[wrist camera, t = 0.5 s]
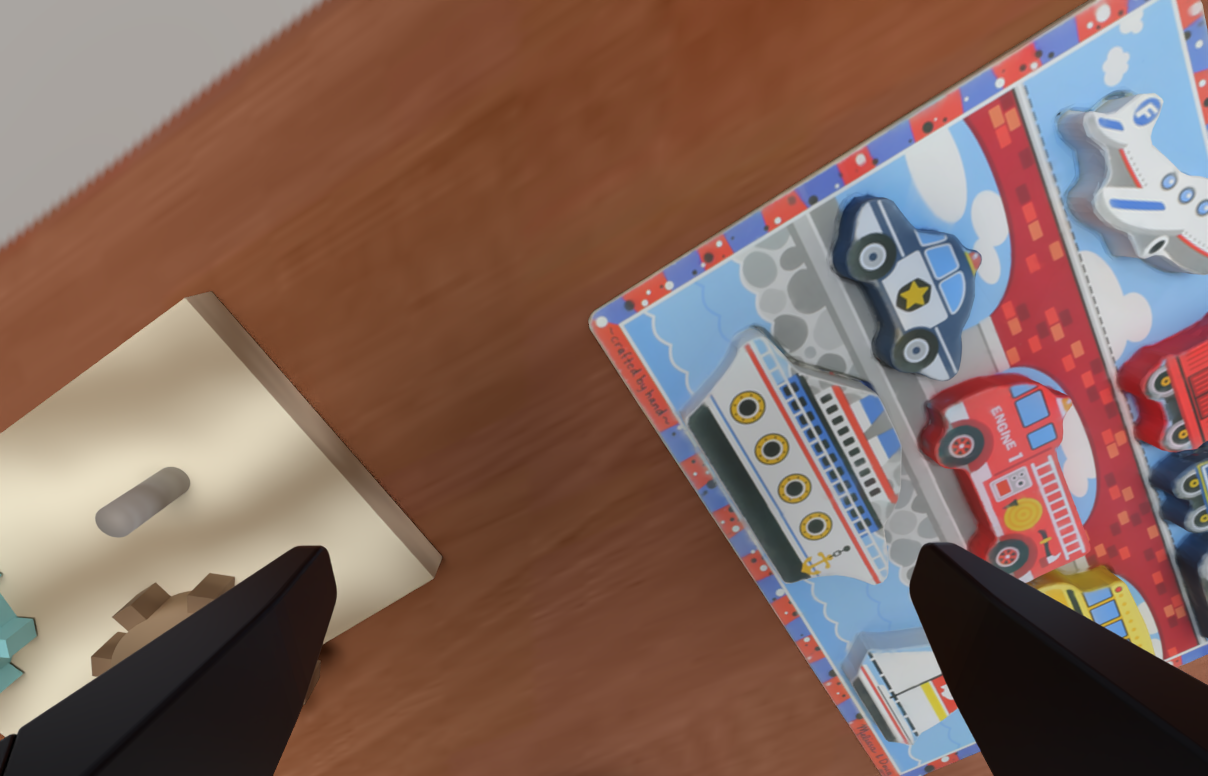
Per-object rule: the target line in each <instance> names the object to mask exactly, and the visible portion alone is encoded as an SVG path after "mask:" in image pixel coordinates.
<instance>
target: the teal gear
mask: <svg viewBox="0 0 1208 776" xmlns="http://www.w3.org/2000/svg"><path fill="white" fill-rule="evenodd" d="M0 576H1V574H0ZM36 636H37V635H36V631H35V626H34V621H33V619H30V618H18V617H17V615H16V614H15V613H14V611H13V610H12V609H11V607H10V606H9V604H8V603H7V602H6V600H5V599H4V597H3V596H2V595H1V593H0V693H1V692H2V691H3V690H5V689H6V688H7V687H8V686H9V685H10V684H12V683H13V682H14V681H15V680H16V679H18V678H19V677H20V676H21V675H22V674H23V673H22V672H21V671H19V670H18V669H16V668H15V667H14V666H12V665H11V664H10V662H11V659H12V656H13V655H14V654H15V653H17V652H18V651H19V650H20V649H21V648H23V647H24V646H25V645H26V644H28V643H29V642H30V641H31V640H33V639H34V638H35V637H36Z"/></svg>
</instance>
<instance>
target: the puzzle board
mask: <svg viewBox="0 0 1208 776" xmlns="http://www.w3.org/2000/svg"><path fill="white" fill-rule="evenodd" d="M588 322H589V328H590V330H591V331H592V333H593V335H594V336H595V338H596V339H597V341H598V342H599V344H600V345H601V347H602V349H603V350H604V352H605V353H606V355H607V356H608V358H609V359H610V361H611V363H612V364H613V366H614V367H615V369H616V370H617V372H618V373H619V375H620V377H621V378H622V380H623V381H624V383H625V384H626V386H627V387H628V389H629V391H630V392H631V394H632V395H633V397H634V398H635V400H636V401H637V403H638V404H639V406H640V408H641V409H642V411H643V412H644V414H645V415H646V417H647V418H648V420H649V421H650V423H651V424H652V426H653V427H654V429H655V430H656V432H657V433H658V435H659V436H660V438H661V439H662V441H663V443H664V444H665V446H666V447H667V449H668V450H669V452H670V453H671V455H672V456H673V458H674V459H675V461H676V462H677V464H678V465H679V467H680V468H681V470H682V472H683V473H684V475H685V476H686V478H687V479H688V481H689V482H690V484H691V485H692V487H693V488H694V490H695V491H696V493H697V494H698V496H699V497H700V499H701V500H702V502H703V503H704V505H705V506H706V508H707V510H708V511H709V513H710V514H711V516H712V517H713V519H714V520H715V522H716V523H717V525H718V526H719V528H720V529H721V531H722V532H723V534H724V535H725V537H726V539H727V540H728V542H729V543H730V545H731V546H732V548H733V549H734V551H735V552H736V554H737V555H738V557H739V558H740V560H741V561H742V563H743V564H744V566H745V567H746V569H747V570H748V572H749V574H750V575H751V577H752V578H753V580H754V581H755V583H756V584H757V586H758V587H759V589H760V590H761V592H762V593H763V595H764V596H765V598H766V599H767V601H768V603H769V604H770V606H771V607H772V609H773V610H774V612H775V613H776V615H777V616H778V618H779V619H780V621H781V623H782V624H783V626H784V627H785V629H786V630H787V632H788V633H789V635H790V636H791V638H792V639H793V641H794V642H795V644H796V645H797V647H798V648H799V650H800V651H801V653H802V654H803V656H804V658H805V659H806V661H807V662H808V664H809V665H810V667H811V668H812V670H813V671H814V673H815V674H816V676H817V677H818V679H819V680H820V682H821V683H822V685H823V686H824V688H825V690H826V691H827V693H828V694H829V696H830V697H831V699H832V700H833V702H834V703H835V705H836V706H837V708H838V709H839V711H840V712H841V714H842V715H843V717H844V718H845V720H846V722H847V723H848V725H849V726H850V728H851V729H852V731H853V732H854V734H855V735H856V737H857V738H858V740H859V741H860V743H861V744H862V746H863V748H864V749H865V751H866V752H867V754H868V755H869V757H870V758H871V760H872V761H873V763H874V764H875V766H876V767H877V769H878V770H879V772H880V774H881V775H882V776H923V775H925V774H927V773H930V772H932V771H934V770H936V769H939V768H942V767H944V766H947V765H949V764H952V763H954V762H956V761H958V760H961V759H963V758H965V757H968V756H970V755H973V754H975V753H978V752H980V749H979V747H978V745H977V743H976V742H975V740H974V738H973V736H972V734H971V732H970V730H969V728H968V726H967V725H966V723H965V721H964V719H963V717H962V715H961V713H960V711H959V709H958V707H957V705H956V703H955V701H954V699H953V697H952V695H951V693H950V691H949V689H948V687H947V684H946V682H945V680H944V678H943V675H942V673H941V670H940V668H939V665H938V663H937V661H936V658H935V656H934V653H933V651H932V649H931V646H930V644H929V641H928V639H927V637H926V634H925V632H924V629H923V627H922V625H921V622H920V620H919V617H918V615H917V612H916V610H915V608H914V605H913V603H912V600H911V597H910V592H909V584H910V579H911V576H912V573H913V570H914V567H915V564H916V561H917V557H918V554H919V551H920V549H921V547H922V546H923V545H924V544H926V543H929V542H950V543H954V544H957V545H958V546H960V547H962V548H964V549H966V550H967V551H969V552H971V553H973V554H975V555H976V556H978V557H980V558H982V559H983V560H985V561H987V562H989V563H991V564H992V565H994V566H996V567H998V568H999V569H1001V570H1003V571H1005V572H1007V573H1008V574H1010V575H1012V576H1014V577H1016V578H1017V579H1019V580H1021V581H1023V582H1024V583H1026V584H1028V585H1030V586H1032V587H1033V588H1035V589H1037V590H1039V591H1041V592H1042V593H1044V594H1046V595H1048V596H1049V597H1051V598H1053V599H1055V600H1057V601H1058V602H1060V603H1062V604H1064V605H1066V606H1067V607H1069V608H1071V609H1073V610H1074V611H1076V612H1078V613H1080V614H1082V615H1083V616H1085V617H1087V618H1089V619H1091V620H1092V621H1094V622H1096V623H1098V624H1099V625H1101V626H1103V627H1105V628H1107V629H1108V630H1110V631H1112V632H1114V633H1116V634H1117V635H1119V636H1121V637H1123V638H1124V639H1126V640H1128V641H1130V642H1132V643H1133V644H1135V645H1137V646H1139V647H1141V648H1142V649H1144V650H1146V651H1148V652H1149V653H1151V654H1153V655H1155V656H1157V657H1158V658H1160V659H1162V660H1164V661H1166V662H1167V663H1169V664H1171V665H1173V666H1175V667H1179V666H1181V665H1184V664H1187V663H1189V662H1191V661H1193V660H1195V659H1197V658H1200V657H1202V656H1204V655H1207V654H1208V31H1207V26H1206V20H1205V15H1204V10H1203V4H1202V3H1201V1H1200V0H1088V1H1087V2H1085V3H1083V4H1082V5H1080V6H1078V7H1077V8H1075V9H1074V10H1072V11H1070V12H1069V13H1067V14H1066V15H1064V16H1062V17H1061V18H1059V19H1058V20H1056V21H1054V22H1053V23H1051V24H1050V25H1048V26H1046V27H1045V28H1043V29H1042V30H1040V31H1038V32H1037V33H1035V34H1034V35H1032V36H1030V37H1029V38H1027V39H1026V40H1024V41H1022V42H1021V43H1019V44H1018V45H1016V46H1014V47H1013V48H1011V49H1010V50H1008V51H1006V52H1005V53H1003V54H1001V55H1000V56H998V57H997V58H995V59H993V60H992V61H990V62H989V63H987V64H985V65H984V66H982V67H981V68H979V69H977V70H976V71H974V72H973V73H971V74H969V75H968V76H966V77H965V78H963V79H961V80H960V81H958V82H957V83H955V84H953V85H952V86H950V87H949V88H947V89H945V90H944V91H942V92H941V93H939V94H937V95H936V96H934V97H933V98H931V99H930V100H928V101H926V102H925V103H923V104H922V105H920V106H918V107H917V108H915V109H914V110H912V111H910V112H909V113H907V114H905V115H904V116H902V117H901V118H899V119H898V120H896V121H894V122H893V123H891V124H890V125H888V126H886V127H885V128H883V129H882V130H880V131H878V132H877V133H875V134H874V135H872V136H870V137H869V138H867V139H866V140H864V141H863V142H861V143H859V144H858V145H856V146H855V147H853V148H851V149H850V150H848V151H847V152H845V153H843V154H842V155H840V156H839V157H837V158H835V159H834V160H832V161H831V162H829V163H827V164H826V165H824V166H823V167H821V168H819V169H818V170H816V171H815V172H813V173H811V174H810V175H808V176H807V177H805V178H804V179H802V180H800V181H799V182H797V183H796V184H794V185H792V186H791V187H789V188H788V189H786V190H784V191H783V192H781V193H780V194H778V195H777V196H775V197H773V198H772V199H770V200H769V201H767V202H765V203H764V204H762V205H761V206H759V207H757V208H756V209H754V210H753V211H751V212H749V213H748V214H746V215H745V216H743V217H742V218H740V219H738V220H737V221H735V222H734V223H732V224H730V225H729V226H727V227H726V228H724V229H722V230H721V231H719V232H718V233H716V234H715V235H713V236H711V237H710V238H708V239H707V240H705V241H703V242H702V243H700V244H699V245H697V246H695V247H694V248H692V249H691V250H689V251H688V252H686V253H684V254H683V255H681V256H680V257H678V258H676V259H675V260H673V261H672V262H670V263H669V264H667V265H665V266H664V267H662V268H661V269H659V270H657V271H656V272H654V273H653V274H651V275H649V276H648V277H646V278H645V279H643V280H642V281H640V282H638V283H637V284H635V285H634V286H632V287H630V288H629V289H627V290H626V291H624V292H623V293H621V294H619V295H618V296H616V297H615V298H613V299H611V300H610V301H608V302H607V303H605V304H604V305H602V306H600V307H599V308H597V309H595V310H594V311H593V312H592V313H591V315H590V317H589V319H588Z"/></svg>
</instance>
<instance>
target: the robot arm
mask: <svg viewBox="0 0 1208 776" xmlns="http://www.w3.org/2000/svg"><path fill="white" fill-rule="evenodd" d="M909 592H910V597H911V600H912V603H913V605H914V608H915V610H916V612H917V615H918V617H919V620H920V622H921V625H922V627H923V629H924V632H925V634H926V637H927V639H928V641H929V644H930V646H931V649H932V651H933V653H934V656H935V658H936V661H937V663H938V665H939V668H940V670H941V673H942V675H943V678H944V680H945V682H946V684H947V687H948V689H949V691H950V693H951V695H952V697H953V699H954V701H955V703H956V705H957V707H958V709H959V711H960V713H961V715H962V717H963V719H964V721H965V723H966V725H967V726H968V728H969V730H970V732H971V734H972V736H973V738H974V740H975V742H976V743H977V745H978V747H979V749H980V751H981V753H982V755H983V757H984V758H985V760H986V762H987V764H988V766H989V768H990V770H991V772H992V773H993V775H994V776H1208V685H1207V684H1205V683H1203V682H1201V681H1200V680H1198V679H1196V678H1194V677H1192V676H1191V675H1189V674H1187V673H1185V672H1183V671H1182V670H1180V669H1178V668H1176V667H1175V666H1173V665H1171V664H1169V663H1167V662H1166V661H1164V660H1162V659H1160V658H1158V657H1157V656H1155V655H1153V654H1151V653H1149V652H1148V651H1146V650H1144V649H1142V648H1141V647H1139V646H1137V645H1135V644H1133V643H1132V642H1130V641H1128V640H1126V639H1124V638H1123V637H1121V636H1119V635H1117V634H1116V633H1114V632H1112V631H1110V630H1108V629H1107V628H1105V627H1103V626H1101V625H1099V624H1098V623H1096V622H1094V621H1092V620H1091V619H1089V618H1087V617H1085V616H1083V615H1082V614H1080V613H1078V612H1076V611H1074V610H1073V609H1071V608H1069V607H1067V606H1066V605H1064V604H1062V603H1060V602H1058V601H1057V600H1055V599H1053V598H1051V597H1049V596H1048V595H1046V594H1044V593H1042V592H1041V591H1039V590H1037V589H1035V588H1033V587H1032V586H1030V585H1028V584H1026V583H1024V582H1023V581H1021V580H1019V579H1017V578H1016V577H1014V576H1012V575H1010V574H1008V573H1007V572H1005V571H1003V570H1001V569H999V568H998V567H996V566H994V565H992V564H991V563H989V562H987V561H985V560H983V559H982V558H980V557H978V556H976V555H975V554H973V553H971V552H969V551H967V550H966V549H964V548H962V547H960V546H958V545H957V544H954V543H950V542H929V543H926V544H924V545H923V546H922V547H921V549H920V551H919V554H918V557H917V561H916V564H915V567H914V570H913V573H912V576H911V579H910V584H909ZM336 599H337V586H336V581H335V577H334V573H333V568H332V564H331V560H330V555H329V552H328V550H327V549H326V548H325V547H324V546H321V545H301V546H296V547H293V548H292V549H290V550H288V551H287V552H285V553H284V554H282V555H281V556H279V557H278V558H276V559H275V560H273V561H272V562H270V563H269V564H267V565H266V566H264V567H263V568H261V569H260V570H258V571H257V572H255V573H254V574H252V575H251V576H249V577H248V578H246V579H245V580H243V581H242V582H240V583H239V584H237V585H236V586H234V587H233V588H231V589H229V590H228V591H226V592H225V593H223V594H222V595H220V596H219V597H217V598H216V599H214V600H213V601H211V602H210V603H208V604H207V605H205V606H204V607H202V608H201V609H199V610H198V611H196V612H195V613H193V614H192V615H190V616H189V617H187V618H186V619H184V620H183V621H181V622H180V623H178V624H177V625H175V626H174V627H172V628H171V629H169V630H168V631H166V632H164V633H163V634H161V635H160V636H158V637H157V638H155V639H154V640H152V641H151V642H149V643H148V644H146V645H145V646H143V647H142V648H140V649H139V650H137V651H136V652H134V653H133V654H131V655H130V656H128V657H127V658H125V659H124V660H122V661H121V662H119V663H118V664H116V665H115V666H113V667H112V668H110V669H109V670H107V671H105V672H104V673H102V674H101V675H99V676H98V677H96V678H95V679H93V680H92V681H90V682H89V683H87V684H86V685H84V686H83V687H81V688H80V689H78V690H77V691H75V692H74V693H72V694H71V695H69V696H68V697H66V698H65V699H63V700H62V701H60V702H59V703H57V704H56V705H54V706H52V707H51V708H49V709H48V710H46V711H45V712H43V713H42V714H40V715H39V716H37V717H36V718H34V719H33V720H31V721H30V722H28V723H27V724H25V725H24V726H22V727H21V728H20V729H19V730H18V733H17V734H10V735H8V736H7V737H5V738H4V739H2V740H1V741H0V776H273V774H274V772H275V770H276V767H277V765H278V763H279V760H280V758H281V756H282V753H283V751H284V749H285V747H286V744H287V742H288V740H289V737H290V735H291V733H292V731H293V728H294V726H295V724H296V721H297V719H298V716H299V714H300V711H301V709H302V706H303V704H304V701H305V698H306V695H307V692H308V689H309V686H310V683H311V680H312V677H313V674H314V670H315V667H316V664H317V661H318V658H319V655H320V652H321V648H322V645H323V642H324V639H325V636H326V633H327V629H328V626H329V623H330V620H331V617H332V614H333V611H334V607H335V604H336Z"/></svg>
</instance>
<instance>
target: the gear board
mask: <svg viewBox="0 0 1208 776" xmlns="http://www.w3.org/2000/svg"><path fill="white" fill-rule="evenodd" d="M301 545H321V546H324V547H325V548H326V549H327V550H328V552H329V555H330V560H331V564H332V568H333V573H334V577H335V581H336V586H337V599H336V604H335V607H334V611H333V614H332V617H331V620H330V623H329V626H328V629H327V633H326V636H325V639H324V642H323V644H324V643H326V642H328V641H329V640H331V639H333V638H334V637H336V636H338V635H339V634H341V633H343V632H344V631H346V630H348V629H349V628H351V627H353V626H355V625H356V624H358V623H360V622H361V621H363V620H365V619H366V618H368V617H370V616H371V615H373V614H375V613H376V612H378V611H380V610H381V609H383V608H385V607H387V606H388V605H390V604H392V603H393V602H395V601H397V600H398V599H400V598H402V597H403V596H405V595H407V594H408V593H410V592H412V591H414V590H415V589H417V588H419V587H420V586H422V585H424V584H425V583H427V582H429V581H430V580H432V579H434V577H435V575H436V572H437V570H438V567H439V565H440V562H441V560H442V556H441V555H440V554H439V552H438V551H437V550H436V549H435V548H434V547H433V546H432V544H431V543H430V542H429V541H428V540H427V539H426V537H425V536H424V535H423V534H422V533H421V532H420V531H419V529H418V528H417V527H416V526H415V525H414V524H413V523H412V521H411V520H410V519H409V518H408V517H407V516H406V514H405V513H404V512H403V511H402V510H401V509H400V508H399V506H398V505H397V504H396V503H395V502H394V501H393V500H392V498H391V497H390V496H389V495H388V494H387V493H386V491H385V490H384V489H383V488H382V487H381V486H380V485H379V483H378V482H377V481H376V480H375V479H374V478H373V477H372V475H371V474H370V473H369V472H368V471H367V470H366V468H365V467H364V466H363V465H362V464H361V463H360V462H359V460H358V459H357V458H356V457H355V456H354V455H353V454H352V452H351V451H350V450H349V449H348V448H347V447H346V446H345V444H344V443H343V442H342V441H341V440H340V439H339V437H338V436H337V435H336V434H335V433H334V432H333V431H332V429H331V428H330V427H329V426H328V425H327V424H326V423H325V421H324V420H323V419H322V418H321V417H320V416H319V414H318V413H317V412H316V411H315V410H314V409H313V408H312V406H311V405H310V404H309V403H308V402H307V401H306V400H305V398H304V397H303V396H302V395H301V394H300V393H299V391H298V390H297V389H296V388H295V387H294V386H293V385H292V383H291V382H290V381H289V380H288V379H287V378H286V377H285V375H284V374H283V373H282V372H281V371H280V370H279V368H278V367H277V366H276V365H275V364H274V363H273V362H272V360H271V359H270V358H269V357H268V356H267V355H266V354H265V352H264V351H263V350H262V349H261V348H260V347H259V346H258V344H257V343H256V342H255V341H254V340H253V339H252V337H251V336H250V335H249V334H248V333H247V332H246V331H245V329H244V328H243V327H242V326H241V325H240V324H239V323H238V321H237V320H236V319H235V318H234V317H233V316H232V314H231V313H230V312H229V311H228V310H227V309H226V308H225V306H224V305H223V304H222V303H221V302H220V301H219V300H218V298H217V297H216V296H215V295H214V294H213V293H212V291H210V292H206V293H202V294H199V295H195V296H191V297H187V298H184V299H183V300H181V301H180V302H179V303H177V304H176V305H175V306H173V307H172V308H171V309H169V310H168V311H167V312H165V313H164V314H162V315H161V316H160V317H158V318H157V319H156V320H154V321H153V322H152V323H150V324H149V325H148V326H146V327H145V328H143V329H142V330H141V331H139V332H138V333H137V334H135V335H134V336H133V337H131V338H130V339H128V340H127V341H126V342H124V343H123V344H122V345H120V346H119V347H118V348H116V349H115V350H114V351H112V352H111V353H109V354H108V355H107V356H105V357H104V358H103V359H101V360H100V361H99V362H97V363H96V364H95V365H93V366H92V367H90V368H89V369H88V370H86V371H85V372H84V373H82V374H81V375H80V376H78V377H77V378H75V379H74V380H73V381H71V382H70V383H69V384H67V385H66V386H65V387H63V388H62V389H61V390H59V391H58V392H56V393H55V394H54V395H52V396H51V397H50V398H48V399H47V400H46V401H44V402H43V403H42V404H40V405H39V406H37V407H36V408H35V409H33V410H32V411H31V412H29V413H28V414H27V415H25V416H24V417H23V418H21V419H20V420H18V421H17V422H16V423H14V424H13V425H12V426H10V427H9V428H8V429H6V430H5V431H3V432H2V433H1V434H0V574H1V576H0V593H1V595H2V596H3V597H4V599H5V600H6V602H7V603H8V604H9V606H10V607H11V609H12V610H13V611H14V613H15V614H16V615H17V617H18V618H30V619H33V621H34V626H35V631H36V635H37V636H36V637H35V638H34V639H33V640H31V641H30V642H29V643H28V644H26V645H25V646H24V647H23V648H21V649H20V650H19V651H18V652H17V653H15V654H14V655H13V656H12V659H11V662H10V664H11V665H12V666H14V667H15V668H16V669H18V670H19V671H21V672H22V673H23V674H22V675H21V676H20V677H19V678H18V679H16V680H15V681H14V682H13V683H12V684H10V685H9V686H8V687H7V688H6V689H5V690H3V691H2V692H1V693H0V733H1V734H2V735H4V736H5V737H7V736H8V735H10V734H17V733H18V730H19V729H20V728H21V727H22V726H24V725H25V724H27V723H28V722H30V721H31V720H33V719H34V718H36V717H37V716H39V715H40V714H42V713H43V712H45V711H46V710H48V709H49V708H51V707H52V706H54V705H56V704H57V703H59V702H60V701H62V700H63V699H65V698H66V697H68V696H69V695H71V694H72V693H74V692H75V691H77V690H78V689H80V688H81V687H83V686H84V685H86V684H87V683H89V682H90V681H92V680H93V679H95V678H96V677H98V676H99V675H101V674H102V673H104V672H105V671H107V670H109V669H110V668H112V667H113V666H115V665H116V664H118V663H119V662H121V661H122V660H124V659H125V658H127V657H128V656H130V655H131V654H133V653H134V652H136V651H137V650H139V649H140V648H142V647H143V646H145V645H146V644H148V643H149V642H151V641H152V640H154V639H155V638H157V637H158V636H160V635H161V634H163V633H164V632H166V631H168V630H169V629H171V628H172V627H174V626H175V625H177V624H178V623H180V622H181V621H183V620H184V619H186V618H187V617H189V616H190V615H192V614H193V613H195V612H196V611H198V610H199V609H201V608H202V607H204V606H205V605H207V604H208V603H210V602H211V601H213V600H214V599H216V598H217V597H219V596H220V595H222V594H223V593H225V592H226V591H228V590H229V589H231V588H233V587H234V586H236V585H237V584H239V583H240V582H242V581H243V580H245V579H246V578H248V577H249V576H251V575H252V574H254V573H255V572H257V571H258V570H260V569H261V568H263V567H264V566H266V565H267V564H269V563H270V562H272V561H273V560H275V559H276V558H278V557H279V556H281V555H282V554H284V553H285V552H287V551H288V550H290V549H292V548H293V547H296V546H301ZM320 666H321V660H318V661H317V664H316V667H315V670H314V674H313V677H312V680H311V683H310V686H309V689H308V692H307V695H306V698H305V701H304V705H305V704H306V702H307V700H308V698H309V696H310V695H311V693H312V691H313V689H314V687H315V685H316V684H317V682H318V680H319V678H320Z"/></svg>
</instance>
